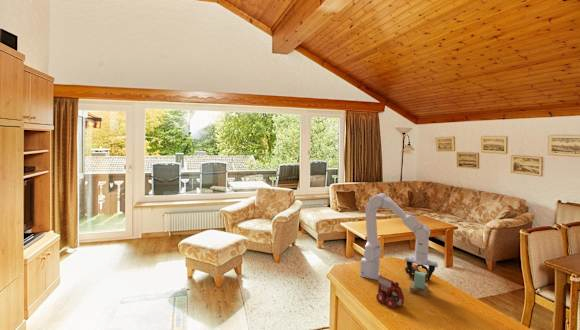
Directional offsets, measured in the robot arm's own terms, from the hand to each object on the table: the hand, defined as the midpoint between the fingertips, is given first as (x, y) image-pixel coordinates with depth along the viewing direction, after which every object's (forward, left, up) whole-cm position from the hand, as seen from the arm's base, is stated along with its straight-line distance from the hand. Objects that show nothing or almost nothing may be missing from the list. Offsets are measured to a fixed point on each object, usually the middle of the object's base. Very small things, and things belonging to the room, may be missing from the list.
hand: (419, 278), depth 147 cm
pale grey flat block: (0, 0, -6) cm, 6 cm away
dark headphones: (-1, +15, -6) cm, 16 cm away
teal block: (0, 0, -3) cm, 3 cm away
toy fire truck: (-12, -18, -6) cm, 22 cm away
